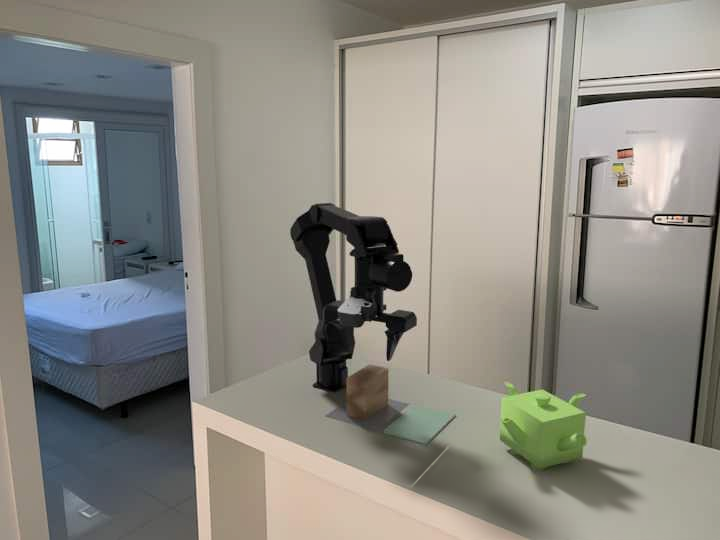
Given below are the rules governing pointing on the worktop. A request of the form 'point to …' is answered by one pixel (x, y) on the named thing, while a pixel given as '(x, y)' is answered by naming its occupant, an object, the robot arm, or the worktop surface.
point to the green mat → (419, 424)
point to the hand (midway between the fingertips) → (368, 356)
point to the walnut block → (367, 392)
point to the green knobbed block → (542, 427)
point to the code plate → (375, 420)
